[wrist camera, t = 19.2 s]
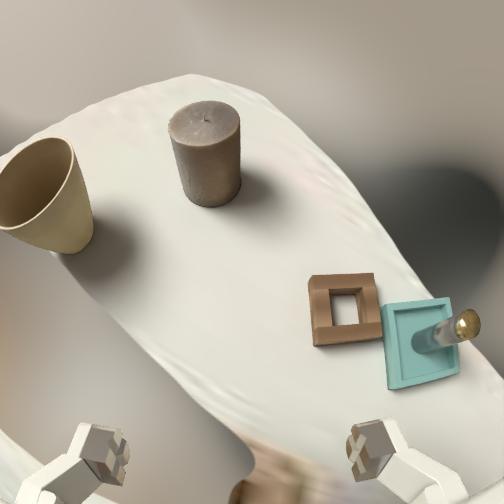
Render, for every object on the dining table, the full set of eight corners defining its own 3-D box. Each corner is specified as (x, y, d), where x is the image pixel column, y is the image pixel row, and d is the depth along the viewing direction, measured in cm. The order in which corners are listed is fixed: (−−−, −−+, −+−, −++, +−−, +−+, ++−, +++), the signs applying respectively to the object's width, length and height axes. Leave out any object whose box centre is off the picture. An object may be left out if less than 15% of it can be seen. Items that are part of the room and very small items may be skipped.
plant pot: (37, 220, 45) (-9, 168, 31) (103, 185, 49) (69, 120, 34) (48, 291, 40) (-14, 248, 26) (124, 252, 43) (80, 192, 29)
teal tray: (450, 373, 37) (460, 372, 34) (387, 389, 36) (395, 388, 34) (440, 301, 42) (449, 297, 39) (379, 308, 41) (386, 303, 39)
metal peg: (430, 351, 38) (482, 335, 27) (412, 355, 37) (463, 340, 27) (427, 329, 39) (477, 307, 28) (409, 332, 39) (458, 310, 28)
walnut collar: (373, 339, 39) (382, 336, 36) (313, 345, 39) (318, 342, 36) (365, 280, 43) (373, 272, 40) (307, 282, 43) (312, 275, 40)
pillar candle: (251, 175, 50) (254, 105, 37) (219, 217, 46) (211, 148, 33) (204, 154, 52) (196, 86, 39) (170, 192, 48) (150, 124, 35)
